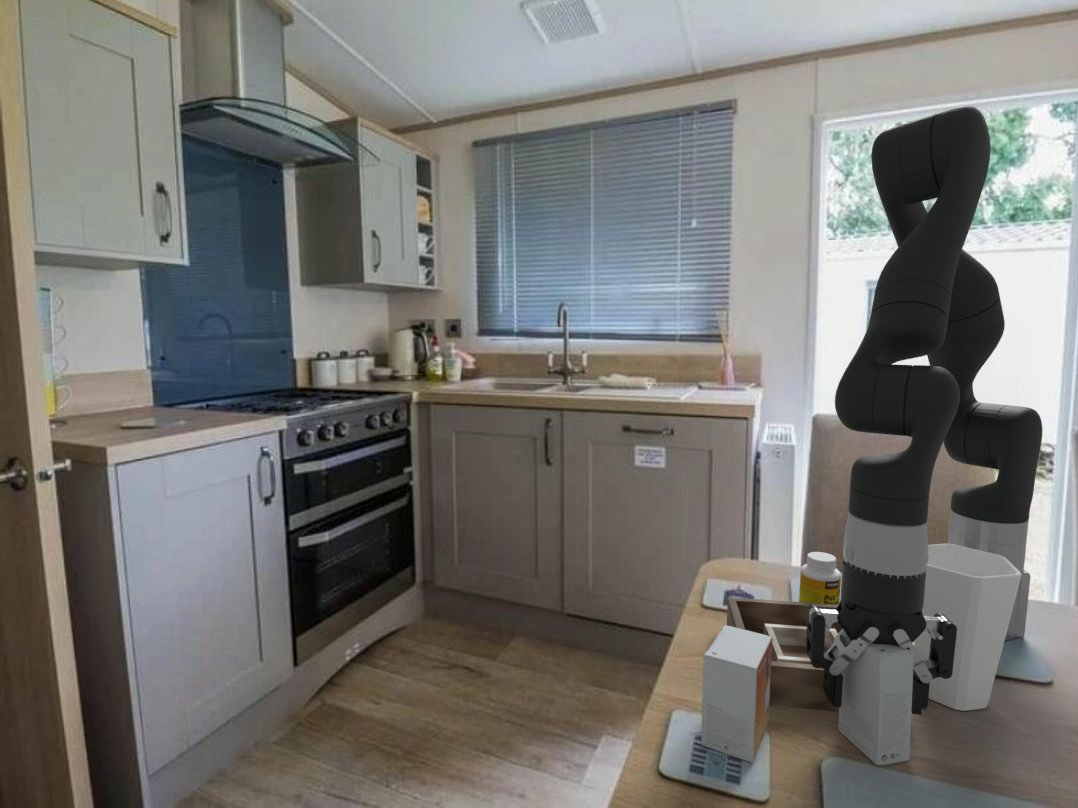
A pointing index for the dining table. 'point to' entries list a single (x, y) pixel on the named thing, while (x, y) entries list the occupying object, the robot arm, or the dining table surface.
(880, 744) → the skincare box
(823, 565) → the supplement bottle
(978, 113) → the robot arm
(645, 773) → the dining table surface
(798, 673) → the walled box
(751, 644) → the small box
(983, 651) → the cup
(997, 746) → the dining table surface
